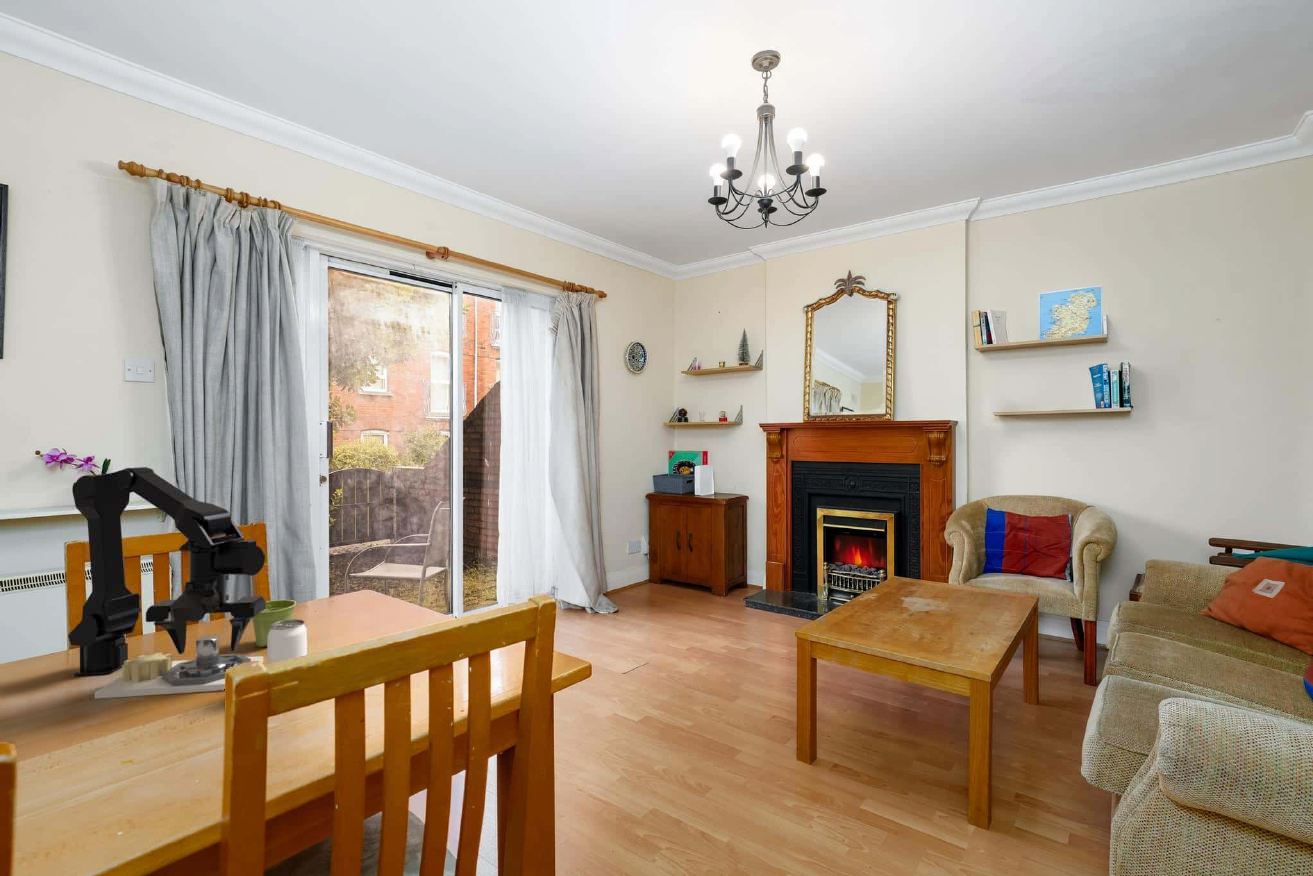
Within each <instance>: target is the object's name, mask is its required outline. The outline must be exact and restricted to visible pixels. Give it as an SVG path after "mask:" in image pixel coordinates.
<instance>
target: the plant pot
mask: <svg viewBox="0 0 1313 876" xmlns="http://www.w3.org/2000/svg"><path fill="white" fill-rule="evenodd" d="M265 601H266V600H265ZM296 606H297V601H296V600H291V599H275V600H267V601H266V609H265V610H263V611H262V612H260V613H259V614H257V615H256V616H254V617H253V618H251V620H252V624H253V631H254V637H255V643H256V646H257V647H259V648H263V647H267V639H268V633H269V631H270V629H271V628H270V626H271V625H272V624H274V623H276V622H280V621H284V620H292V616H293V612H294V609H295V607H296Z"/></svg>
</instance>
